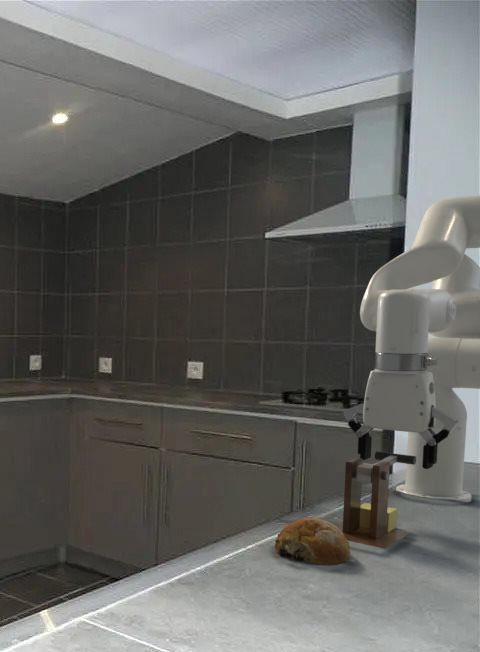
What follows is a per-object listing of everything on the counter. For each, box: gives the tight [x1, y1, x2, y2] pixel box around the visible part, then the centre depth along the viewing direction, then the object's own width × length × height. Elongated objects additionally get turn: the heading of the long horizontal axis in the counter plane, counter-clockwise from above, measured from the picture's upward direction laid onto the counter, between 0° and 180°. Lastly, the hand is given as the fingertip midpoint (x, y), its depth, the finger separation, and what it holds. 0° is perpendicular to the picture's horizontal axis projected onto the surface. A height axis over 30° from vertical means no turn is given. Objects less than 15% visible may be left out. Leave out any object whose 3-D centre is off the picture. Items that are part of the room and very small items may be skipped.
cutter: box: [334, 457, 412, 550], centre depth 115 cm, size 12×10×13 cm
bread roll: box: [274, 517, 352, 566], centre depth 105 cm, size 10×10×8 cm
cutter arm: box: [356, 451, 416, 484], centre depth 118 cm, size 15×6×2 cm, turn 131°
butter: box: [359, 502, 399, 532], centre depth 118 cm, size 4×5×3 cm
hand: (395, 463), depth 123 cm, fingers open, 9 cm apart
